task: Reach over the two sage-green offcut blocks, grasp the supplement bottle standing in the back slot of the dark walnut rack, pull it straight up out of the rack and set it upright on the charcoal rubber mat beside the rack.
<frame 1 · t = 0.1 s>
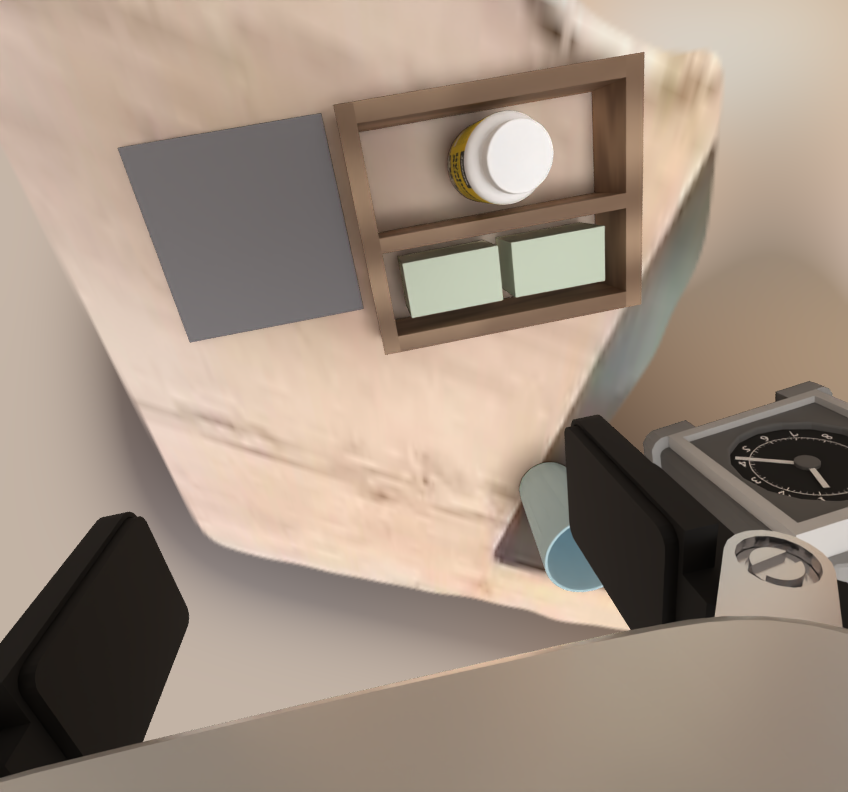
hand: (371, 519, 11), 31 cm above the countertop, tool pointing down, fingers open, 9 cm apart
offcut b: (538, 255, 41), resting in rack
rack: (487, 219, 39), on the countertop
offcut a: (444, 273, 40), resting in rack
cup: (544, 484, 49), on the countertop
mat: (252, 234, 37), on the countertop
supplement bottle: (480, 164, 37), resting in rack
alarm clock: (730, 459, 51), on the countertop
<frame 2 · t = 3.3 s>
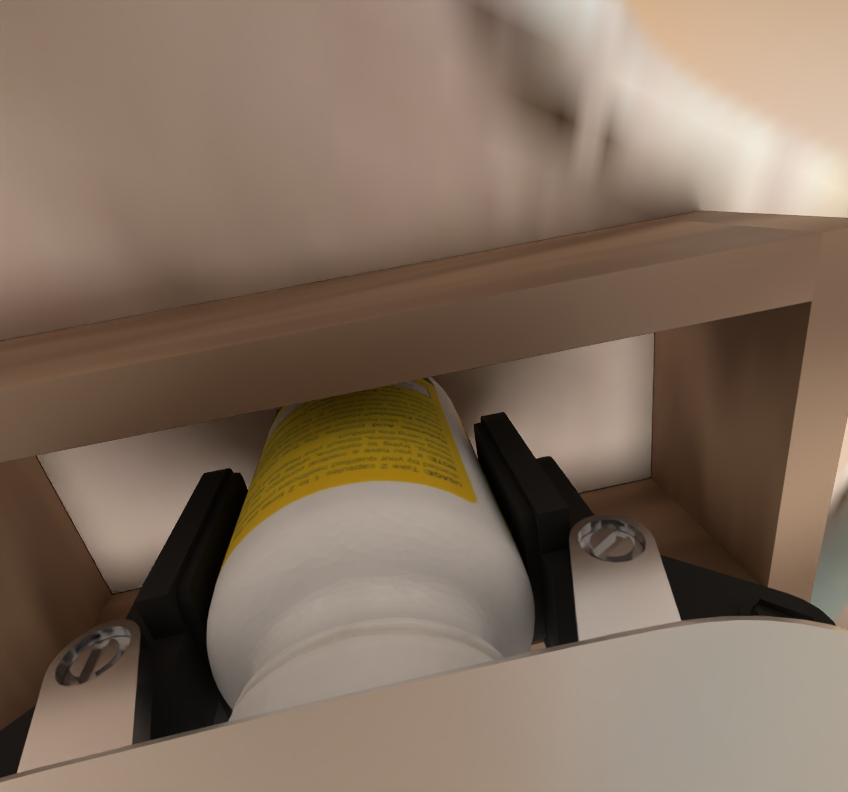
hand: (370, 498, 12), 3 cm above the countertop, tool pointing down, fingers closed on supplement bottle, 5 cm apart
rack: (392, 547, 16), on the countertop
supplement bottle: (367, 436, 15), resting in rack, touching gripper
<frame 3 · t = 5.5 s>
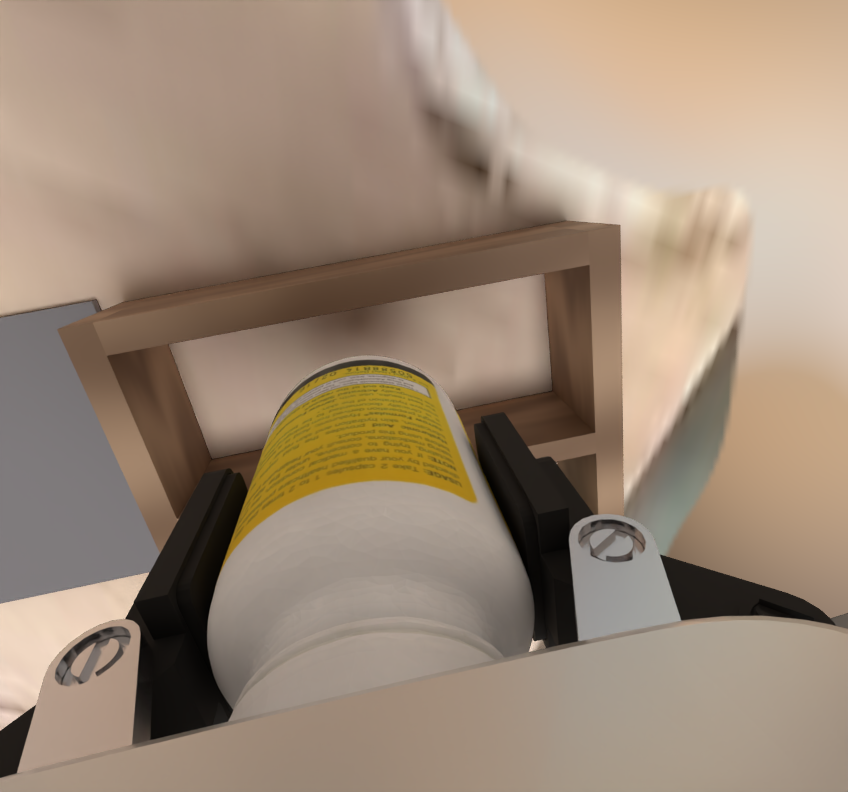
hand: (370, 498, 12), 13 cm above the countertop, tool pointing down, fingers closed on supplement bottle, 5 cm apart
rack: (387, 433, 25), on the countertop
mat: (8, 471, 24), on the countertop
supplement bottle: (367, 436, 15), point 10 cm above the countertop, touching gripper
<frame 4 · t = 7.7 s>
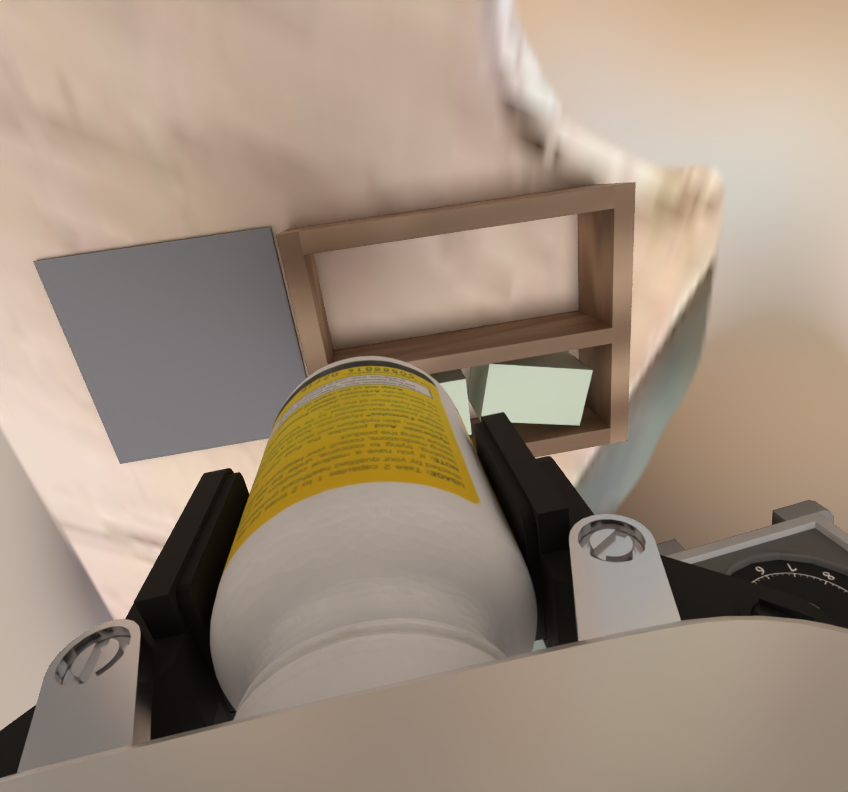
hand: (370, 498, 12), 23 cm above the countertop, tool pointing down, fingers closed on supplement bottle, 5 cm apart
offcut b: (516, 373, 37), resting in rack
rack: (459, 337, 35), on the countertop
offcut a: (409, 391, 36), resting in rack
mat: (191, 351, 33), on the countertop
supplement bottle: (369, 436, 15), point 20 cm above the countertop, touching gripper
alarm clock: (722, 577, 47), on the countertop
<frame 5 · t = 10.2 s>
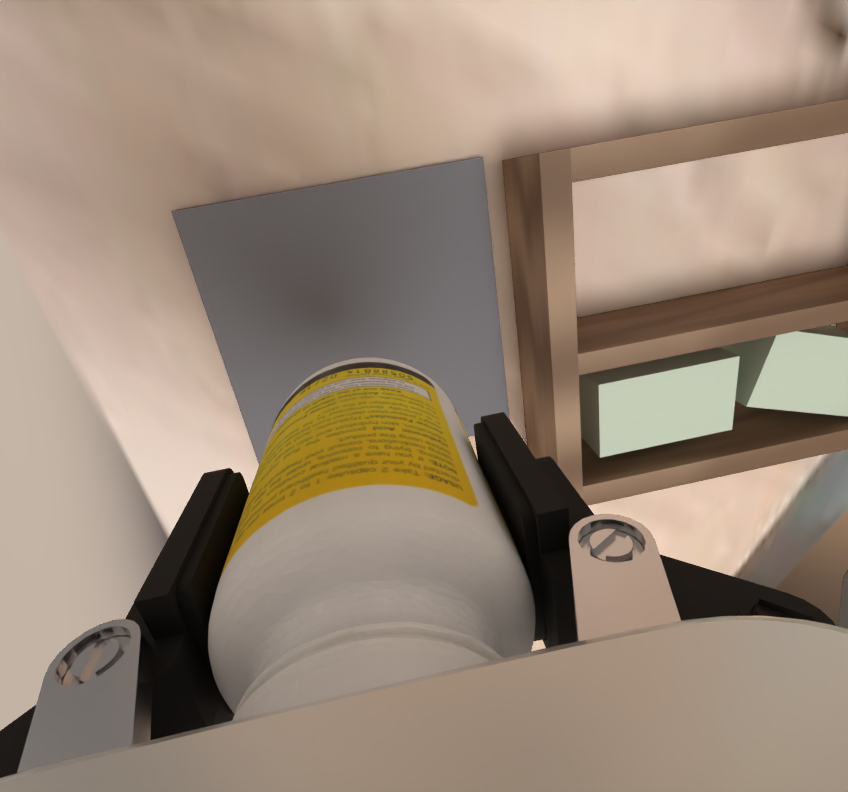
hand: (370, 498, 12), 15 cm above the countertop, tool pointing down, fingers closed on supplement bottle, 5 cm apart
offcut b: (755, 349, 29), resting in rack
rack: (695, 303, 27), on the countertop
offcut a: (622, 376, 28), resting in rack
mat: (362, 331, 25), on the countertop
supplement bottle: (368, 438, 15), point 11 cm above the countertop, touching gripper
when the fingers open (5 cm above the countertop, at t = 12.4 s): supplement bottle drops 1 cm, resting on mat.
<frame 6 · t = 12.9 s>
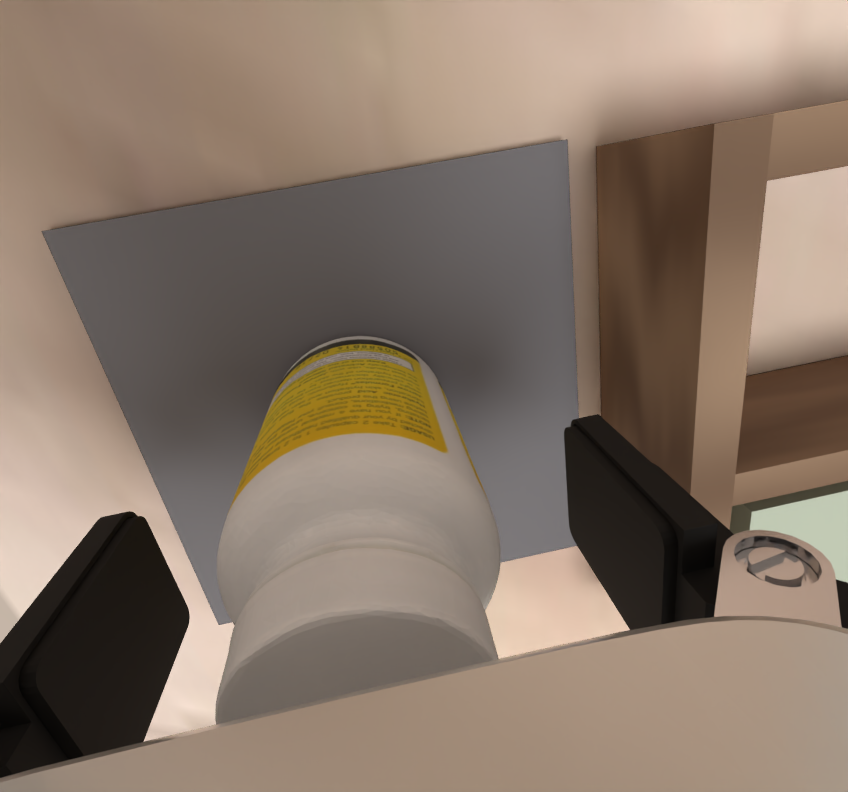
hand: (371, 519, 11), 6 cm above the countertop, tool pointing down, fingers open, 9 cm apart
offcut a: (746, 466, 19), resting in rack
mat: (366, 413, 16), on the countertop
supplement bottle: (361, 412, 16), resting on mat
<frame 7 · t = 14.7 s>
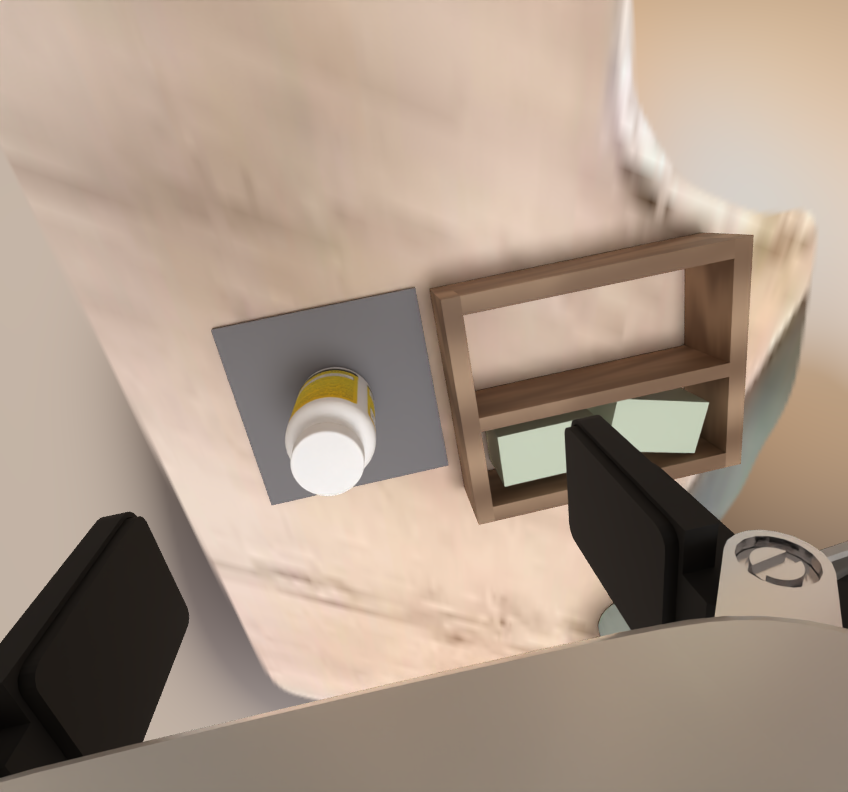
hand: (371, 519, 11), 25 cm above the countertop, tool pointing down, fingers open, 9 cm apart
offcut b: (625, 404, 39), resting in rack
rack: (576, 375, 38), on the countertop
offcut a: (528, 426, 39), resting in rack
cup: (623, 619, 47), on the countertop
mat: (339, 401, 36), on the countertop
supplement bottle: (336, 400, 36), resting on mat
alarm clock: (814, 586, 49), on the countertop
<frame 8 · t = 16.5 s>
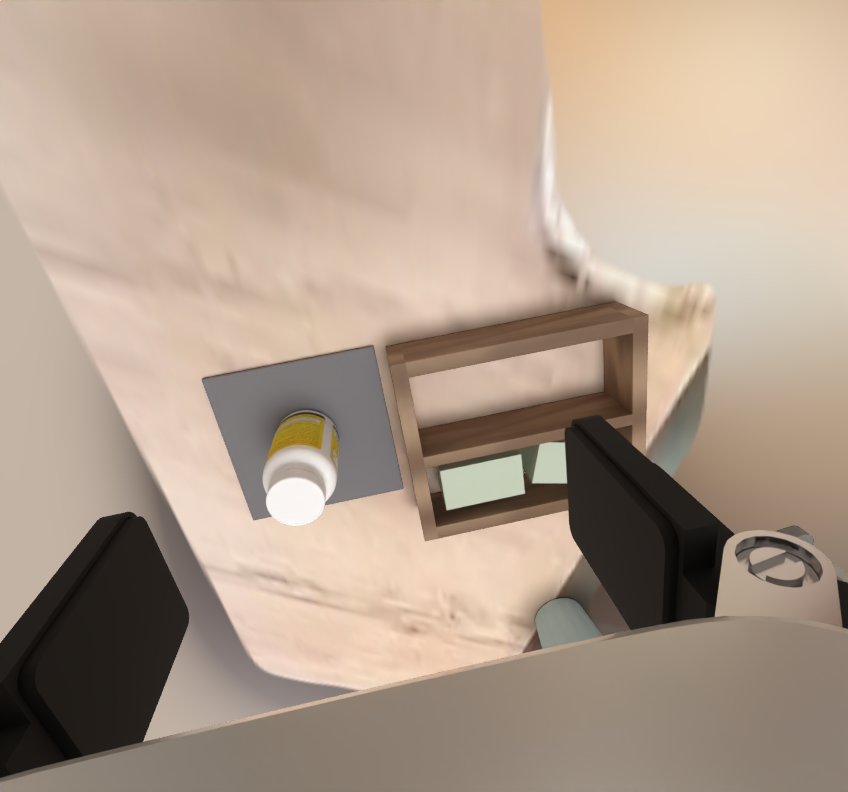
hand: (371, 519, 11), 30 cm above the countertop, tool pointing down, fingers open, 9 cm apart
offcut b: (555, 439, 47), resting in rack
rack: (511, 415, 45), on the countertop
offcut a: (472, 456, 46), resting in rack
cup: (557, 614, 55), on the countertop
mat: (310, 436, 43), on the countertop
supplement bottle: (308, 436, 43), resting on mat
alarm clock: (723, 588, 57), on the countertop
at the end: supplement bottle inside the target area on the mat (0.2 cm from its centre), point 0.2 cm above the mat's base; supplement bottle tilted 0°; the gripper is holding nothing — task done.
